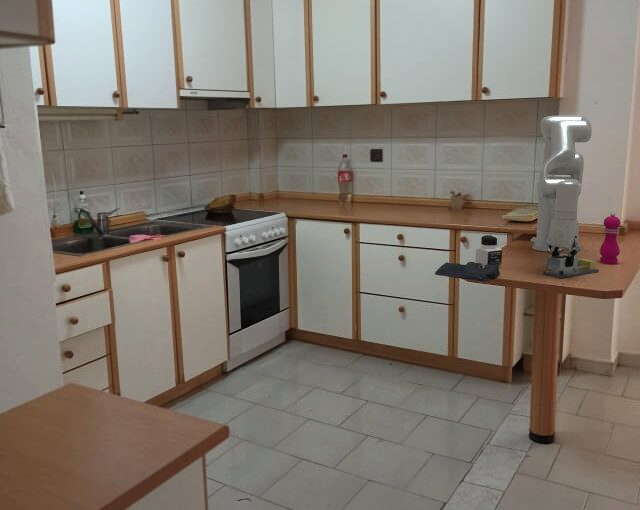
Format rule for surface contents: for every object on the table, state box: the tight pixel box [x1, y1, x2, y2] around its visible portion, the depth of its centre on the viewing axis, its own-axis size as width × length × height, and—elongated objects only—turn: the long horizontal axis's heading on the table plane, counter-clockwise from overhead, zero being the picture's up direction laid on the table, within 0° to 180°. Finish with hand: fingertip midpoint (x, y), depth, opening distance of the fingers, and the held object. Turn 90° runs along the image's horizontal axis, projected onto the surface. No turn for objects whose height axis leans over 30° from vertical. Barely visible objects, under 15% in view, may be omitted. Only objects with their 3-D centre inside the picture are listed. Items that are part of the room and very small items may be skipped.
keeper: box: [542, 257, 600, 279], centre depth 235 cm, size 8×20×5 cm, turn 118°
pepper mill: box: [599, 211, 621, 265], centre depth 251 cm, size 7×7×20 cm
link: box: [546, 253, 579, 271], centre depth 233 cm, size 6×9×4 cm, turn 118°
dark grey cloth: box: [434, 261, 501, 283], centre depth 235 cm, size 15×22×5 cm
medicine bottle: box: [474, 234, 503, 268], centre depth 247 cm, size 7×7×12 cm
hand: (562, 264), depth 233 cm, fingers closed on link, 5 cm apart
